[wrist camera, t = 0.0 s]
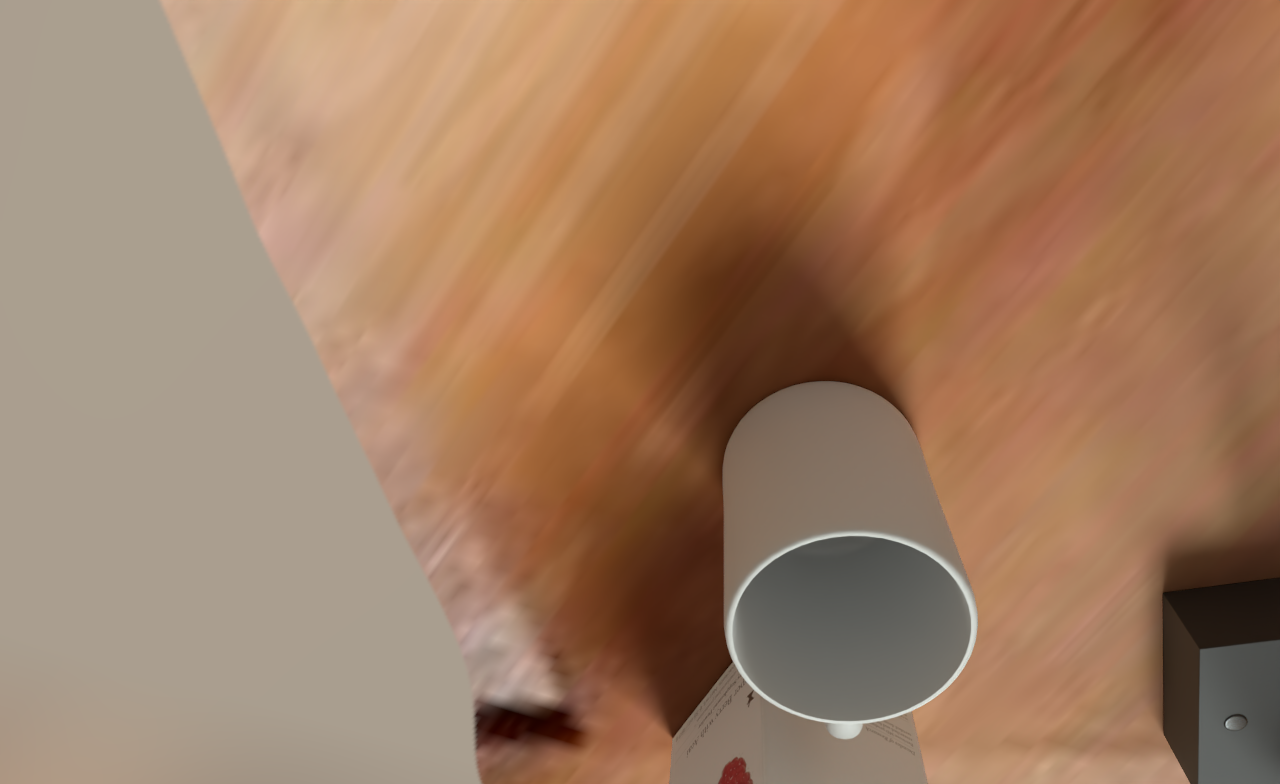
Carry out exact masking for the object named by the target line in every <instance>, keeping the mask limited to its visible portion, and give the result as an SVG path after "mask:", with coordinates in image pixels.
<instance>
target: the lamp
mask: <svg viewBox="0 0 1280 784" xmlns="http://www.w3.org/2000/svg"><path fill="white" fill-rule="evenodd" d="M1163 685H1164V736H1165V738H1166V739H1167V741H1168V743H1169V745H1170V747H1171V749H1172V750H1173V752H1174V754H1175V756H1176V758H1177V760H1178V762H1179V763H1180V765H1181V767H1182V769H1183V771H1184V773H1185V774H1186V776H1187V778H1188V780H1189V782H1190V784H1280V578H1274V579H1267V580H1259V581H1251V582H1244V583H1236V584H1228V585H1221V586H1213V587H1205V588H1198V589H1190V590H1182V591H1175V592H1167V593H1163Z"/></svg>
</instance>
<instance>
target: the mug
mask: <svg viewBox="0 0 1280 784" xmlns="http://www.w3.org/2000/svg"><path fill="white" fill-rule="evenodd" d="M723 504H724V631H725V637H726V643H727V647H728V650H729V653H730V656H731V658H732V660H733V662H734V664H735V666H736V668H737V670H738V672H739V673H740V674H741V676H742V677H743V678H744V680H745V681H746V682H747V683H748V684H749V685H750V686H751V687H752V688H753V690H754V691H756V692H757V693H758V694H759V695H761V696H762V697H763V698H764V699H766V700H767V701H769V702H770V703H772V704H774V705H775V706H777V707H779V708H781V709H783V710H785V711H787V712H789V713H791V714H794V715H797V716H800V717H803V718H806V719H810V720H815V721H819V722H824V724H825V727H826V729H827V730H828V732H829V733H830V734H831V735H832V736H834V737H836V738H839V739H850V738H854V737H855V736H857V735H859V733H860V731H861V729H862V727H863V723H871V722H877V721H883V720H886V719H890V718H894V717H897V716H900V715H903V714H905V713H908V712H911V711H913V710H915V709H917V708H919V707H921V706H923V705H924V704H926V703H927V702H929V701H931V700H932V699H934V698H935V697H937V696H938V695H939V694H940V693H941V692H943V691H944V690H945V689H946V688H947V687H948V686H949V685H950V684H951V683H952V682H953V681H954V680H955V679H956V678H957V677H958V675H959V674H960V672H961V671H962V670H963V668H964V667H965V665H966V663H967V661H968V659H969V657H970V656H971V653H972V650H973V647H974V644H975V641H976V634H977V627H978V615H977V607H976V602H975V597H974V593H973V590H972V588H971V585H970V582H969V579H968V577H967V574H966V571H965V569H964V566H963V563H962V561H961V558H960V555H959V553H958V550H957V547H956V545H955V542H954V539H953V537H952V534H951V531H950V529H949V526H948V523H947V521H946V518H945V515H944V513H943V510H942V507H941V505H940V502H939V499H938V497H937V494H936V491H935V489H934V486H933V483H932V480H931V477H930V474H929V471H928V468H927V465H926V462H925V459H924V456H923V453H922V450H921V447H920V445H919V442H918V439H917V437H916V435H915V433H914V431H913V429H912V428H911V426H910V424H909V422H908V421H907V420H906V419H905V417H904V416H903V415H902V413H900V412H899V411H898V410H897V409H896V408H895V407H894V406H893V405H892V404H891V403H890V402H888V401H887V400H885V399H884V398H883V397H881V396H879V395H877V394H876V393H874V392H872V391H870V390H867V389H865V388H862V387H860V386H856V385H852V384H848V383H843V382H835V381H816V382H807V383H802V384H798V385H793V386H790V387H788V388H785V389H782V390H780V391H778V392H776V393H774V394H772V395H770V396H768V397H766V398H765V399H763V400H762V401H760V402H759V403H758V404H756V405H755V406H754V407H753V408H752V409H751V410H749V411H748V413H747V414H746V415H745V416H744V417H743V418H742V419H741V421H740V422H739V424H738V425H737V427H736V428H735V430H734V431H733V433H732V435H731V438H730V440H729V442H728V444H727V448H726V451H725V455H724V461H723Z"/></svg>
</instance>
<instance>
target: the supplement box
mask: <svg viewBox="0 0 1280 784" xmlns="http://www.w3.org/2000/svg"><path fill="white" fill-rule="evenodd" d="M669 784H928V782H927V777H926V773H925V769H924V764H923V759H922V755H921V750H920V746H919V742H918V737H917V733H916V728H915V724H914V719H913V714H912V711H911V712H908V713H905V714H903V715H900V716H897V717H894V718H890V719H886V720H883V721H877V722H871V723H863V727H862V729H861V731H860V733H859V735H857V736H855V737H854V738H850V739H839V738H836V737H834V736H832V735H831V734H830V733H829V732H828V730H827V729H826V727H825V724H824V722H819V721H815V720H810V719H806V718H803V717H800V716H797V715H794V714H791V713H789V712H787V711H785V710H783V709H781V708H779V707H777V706H775V705H774V704H772V703H770V702H769V701H767V700H766V699H764V698H763V697H762V696H761V695H759V694H758V693H757V692H756V691H754V690H753V688H752V687H751V686H750V685H749V684H748V683H747V682H746V681H745V680H744V678H743V677H742V676H741V674H740V673H739V672H738V670H737V668H736V666H735V664H734V662H732V663H731V665H730V666H729V667H728V668H727V670H726V671H725V672H724V673H723V675H722V676H721V677H720V679H719V680H718V681H717V682H716V684H715V685H714V686H713V688H712V689H711V690H710V691H709V693H708V694H707V695H706V696H705V698H704V699H703V700H702V701H701V703H700V704H699V705H698V706H697V708H696V709H695V710H694V712H693V713H692V714H691V715H690V717H689V718H688V719H687V721H686V722H685V723H684V724H683V726H682V727H681V728H680V730H679V731H678V732H677V734H676V735H675V736H674V738H673V740H672V754H671V769H670V781H669Z"/></svg>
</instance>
